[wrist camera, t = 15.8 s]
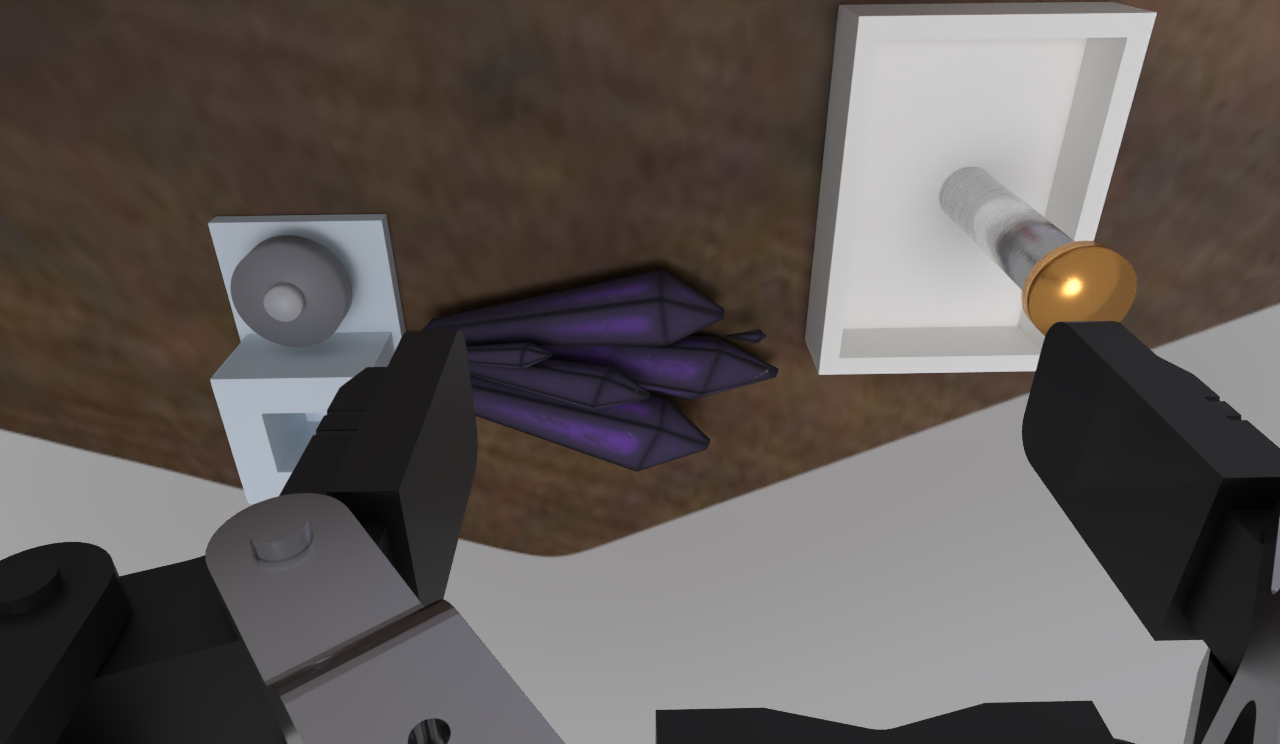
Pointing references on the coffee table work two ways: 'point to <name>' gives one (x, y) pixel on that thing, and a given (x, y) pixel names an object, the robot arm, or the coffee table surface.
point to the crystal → (604, 366)
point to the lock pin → (1039, 254)
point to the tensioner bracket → (299, 329)
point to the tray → (943, 143)
